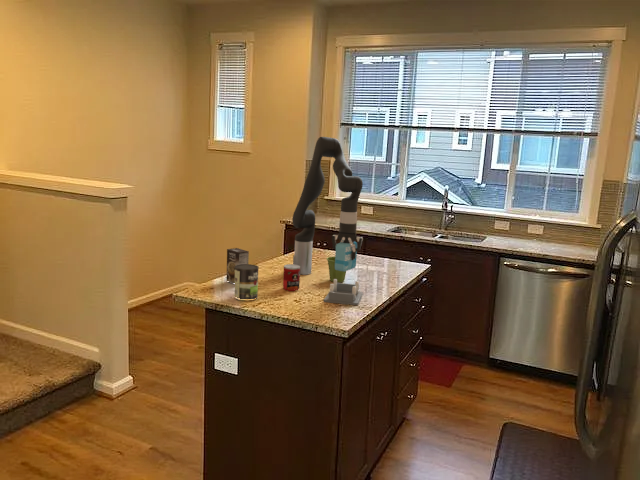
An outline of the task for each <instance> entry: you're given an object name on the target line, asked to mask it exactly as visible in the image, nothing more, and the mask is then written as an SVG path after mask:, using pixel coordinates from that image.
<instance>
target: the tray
mask: <svg viewBox="0 0 640 480" xmlns="http://www.w3.org/2000/svg"><path fill="white" fill-rule="evenodd" d="M354 283H355V284H354ZM354 283H353V284H352V283H342V282H337V279H334V282H332V283H330V284H329V291H328V293H327V294H326V296H325V297H324V299H323V302H324V303H331V304H338V303H339V304H340V305H341V304H342V305H348V304H350V305H349V306H357V305H359V303H360V302H361V300H362V297H363V295H364V292H362V291H360V290H359V289H360V288H359V287H360V285H359V284H360V281H358V280H355V281H354Z"/></svg>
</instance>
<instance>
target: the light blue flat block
mask: <svg viewBox="0 0 640 480" xmlns="http://www.w3.org/2000/svg"><path fill="white" fill-rule="evenodd" d="M353 244H355V247H356V248H357V247H358V241H357V242H356V241H354V243H353ZM352 252H353V250H352V247H351V245H350V243H340V242H339V243H336V249H335V255H334V257H335V270H338V271H344V272H345V271H346V272H347V271H350V270H353V269H355V268H356V266H357V258H358V257H357V255H358V253H357V252H358V251H356V257H355V259H354V260H352Z"/></svg>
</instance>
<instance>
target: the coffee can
mask: <svg viewBox="0 0 640 480" xmlns="http://www.w3.org/2000/svg"><path fill="white" fill-rule="evenodd" d="M258 286H259V265H256V264H253V263H252V264H249V263H248V264H240V265H236V266H235V285H234V296H235V297H237V298H240V299H255V298H257V297H258V290H259V287H258ZM257 299H258V298H257Z"/></svg>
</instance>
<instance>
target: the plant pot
mask: <svg viewBox="0 0 640 480" xmlns="http://www.w3.org/2000/svg"><path fill="white" fill-rule="evenodd" d="M326 261H327V265H328V273H329V280H330V281H331V282H332V283H334V279H337V283H342V282H345V280H346V275H347V271H345V272H344V271H338V270H335V256H328V257H326Z"/></svg>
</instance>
